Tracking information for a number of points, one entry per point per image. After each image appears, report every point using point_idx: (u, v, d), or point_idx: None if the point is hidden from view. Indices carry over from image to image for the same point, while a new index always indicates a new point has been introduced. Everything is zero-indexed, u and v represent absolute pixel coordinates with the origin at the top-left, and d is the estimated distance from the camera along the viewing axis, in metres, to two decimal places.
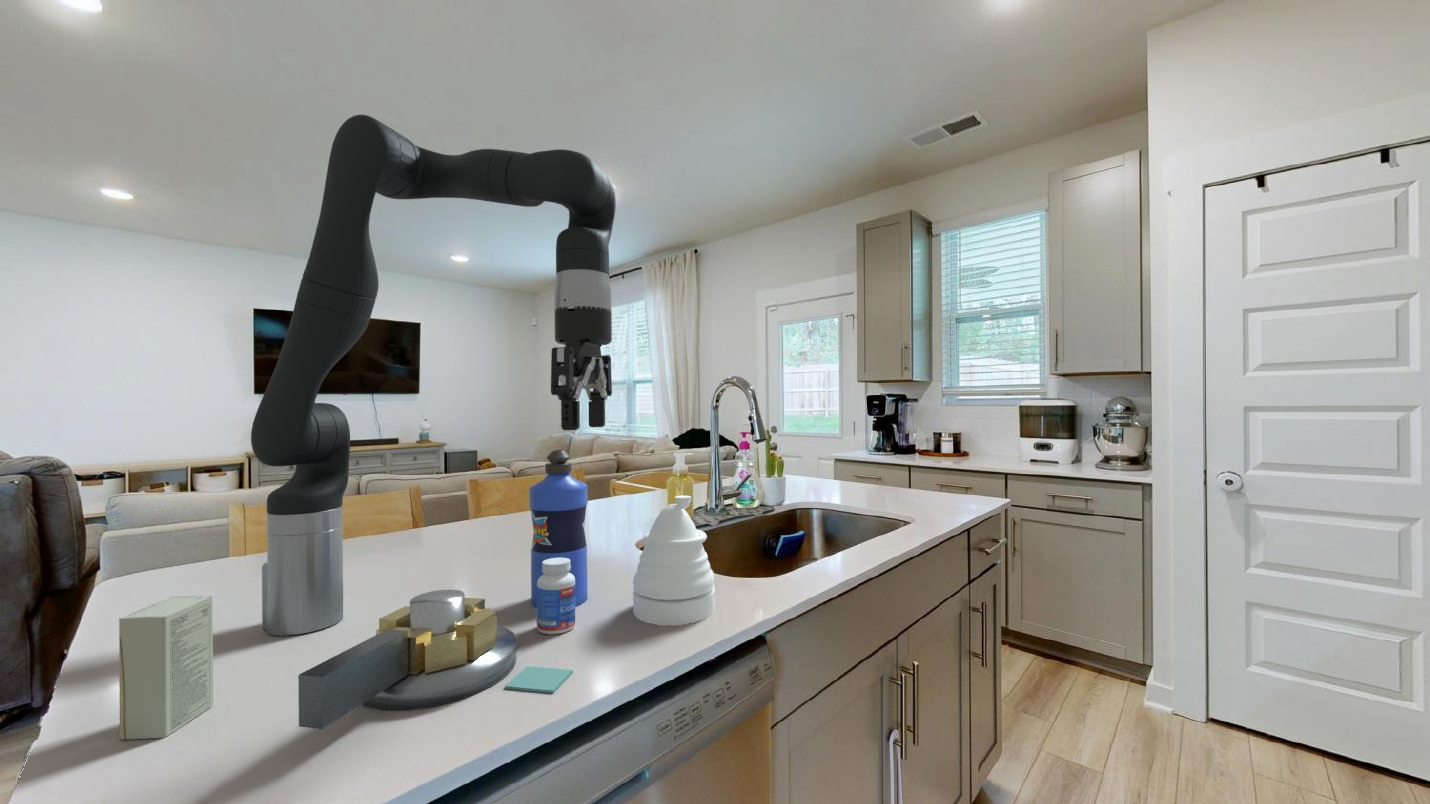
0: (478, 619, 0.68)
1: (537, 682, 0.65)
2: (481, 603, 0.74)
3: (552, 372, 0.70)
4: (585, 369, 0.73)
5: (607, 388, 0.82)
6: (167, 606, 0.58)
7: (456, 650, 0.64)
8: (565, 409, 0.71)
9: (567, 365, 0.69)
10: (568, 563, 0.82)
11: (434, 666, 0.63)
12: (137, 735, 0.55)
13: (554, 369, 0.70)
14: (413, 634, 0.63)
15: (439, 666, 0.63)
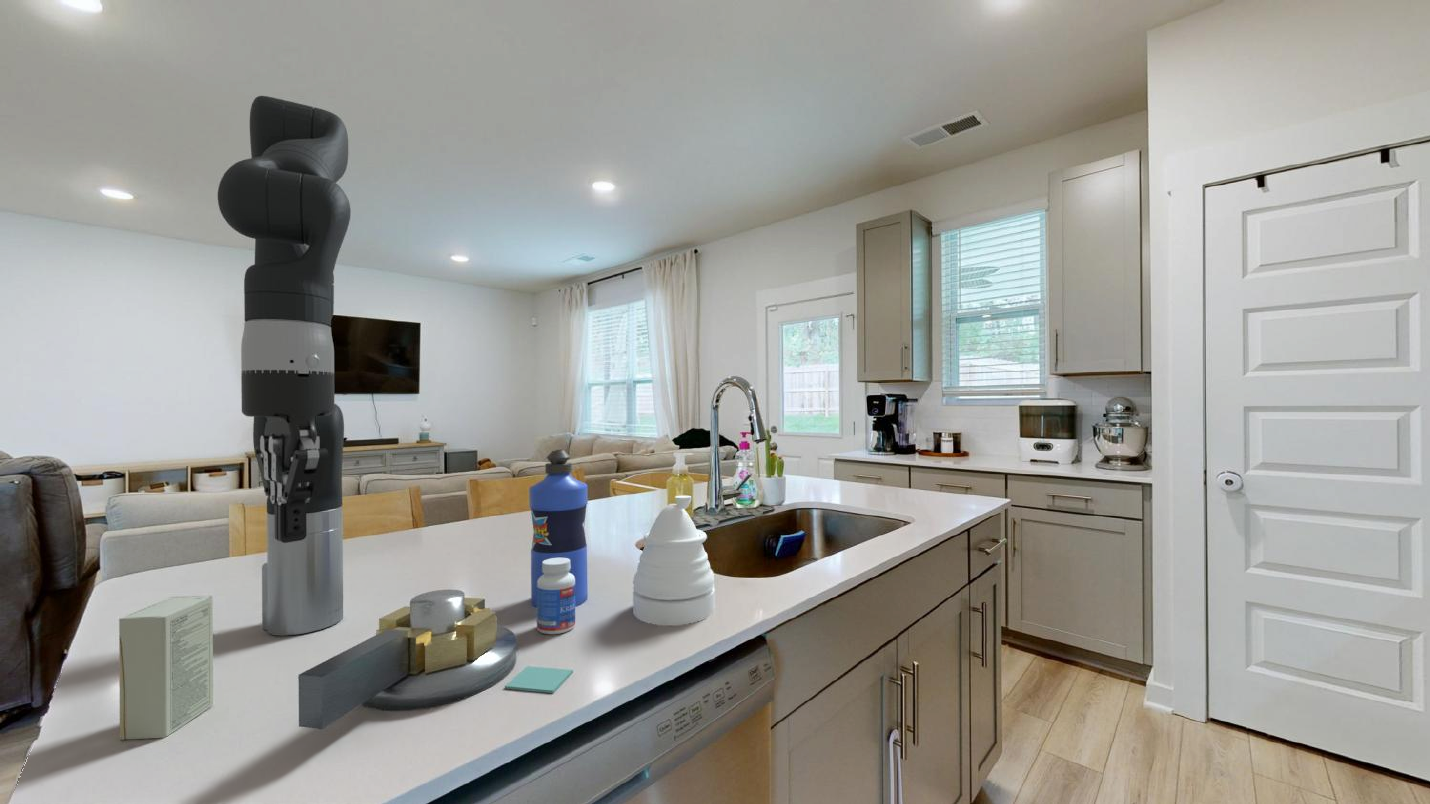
0: (478, 619, 0.68)
1: (537, 682, 0.65)
2: (481, 603, 0.74)
3: (294, 481, 0.54)
4: None
5: None
6: (167, 606, 0.58)
7: (456, 650, 0.64)
8: (293, 516, 0.56)
9: (320, 472, 0.55)
10: (568, 563, 0.82)
11: (434, 666, 0.63)
12: (137, 735, 0.55)
13: (298, 478, 0.54)
14: (413, 634, 0.63)
15: (439, 666, 0.63)
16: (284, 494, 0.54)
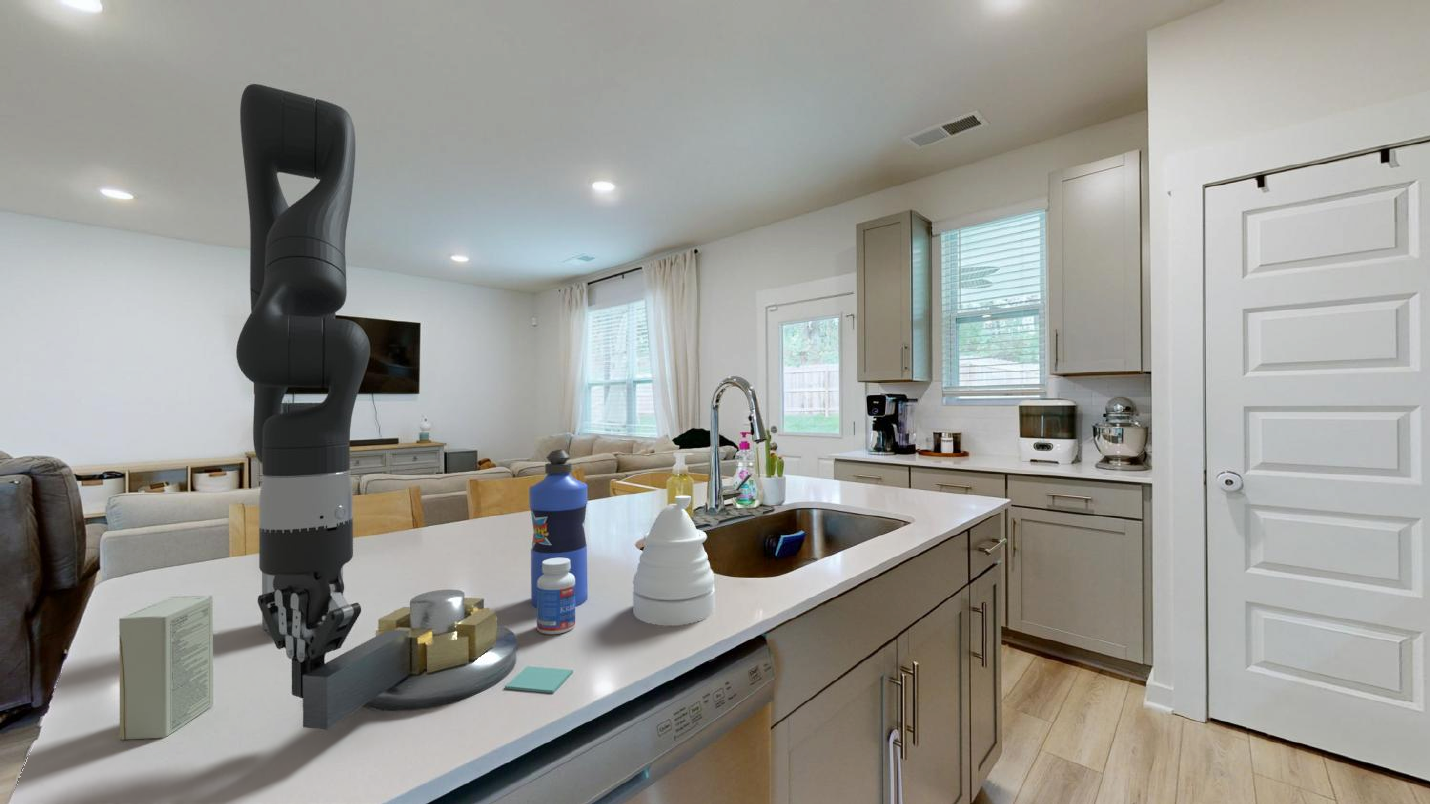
0: (479, 618, 0.68)
1: (537, 682, 0.65)
2: (480, 603, 0.74)
3: (326, 640, 0.53)
4: None
5: None
6: (167, 606, 0.58)
7: (458, 649, 0.65)
8: None
9: (350, 627, 0.55)
10: (568, 563, 0.82)
11: (436, 666, 0.63)
12: (137, 735, 0.55)
13: (330, 637, 0.53)
14: (415, 634, 0.63)
15: (441, 665, 0.64)
16: (311, 652, 0.54)
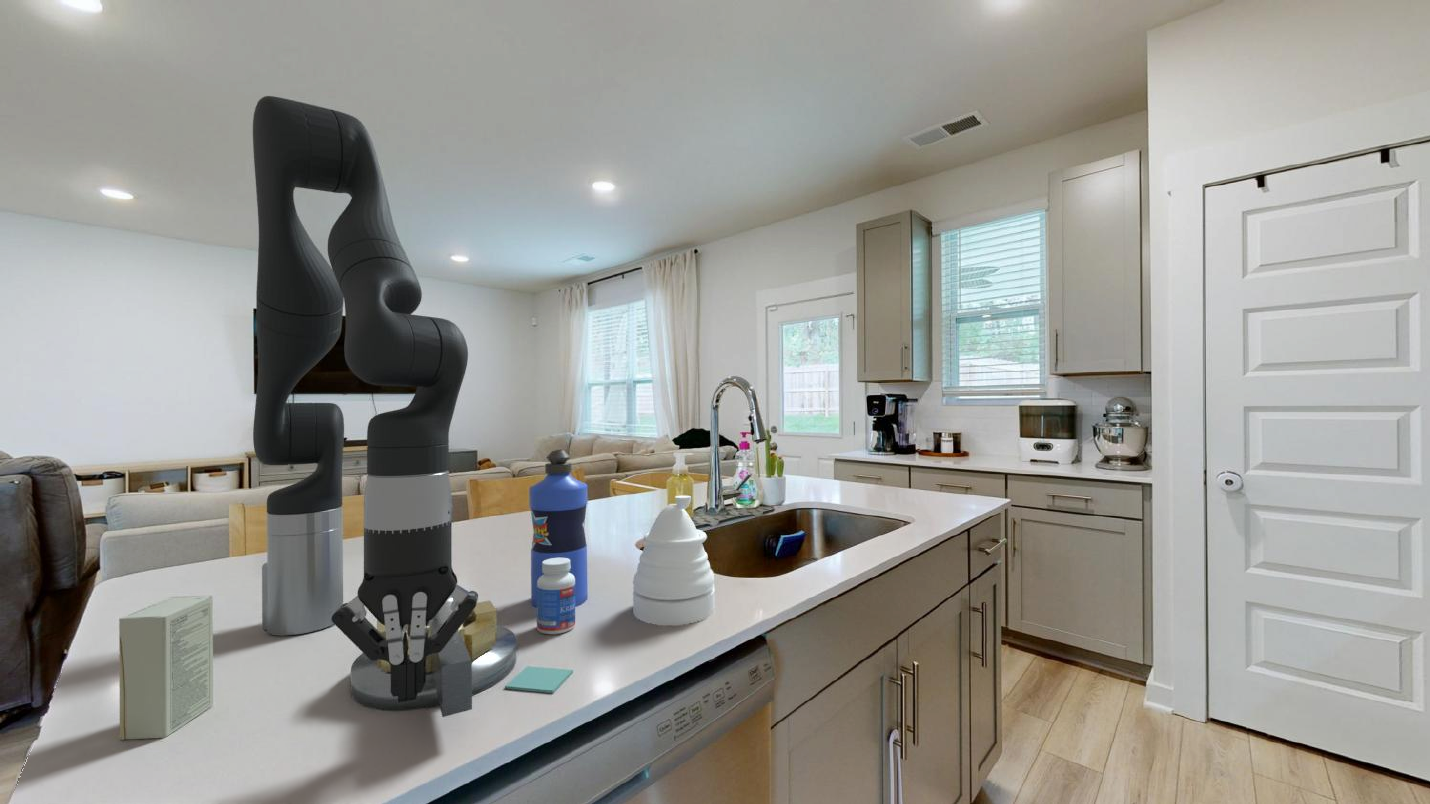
0: (487, 606, 0.72)
1: (537, 682, 0.65)
2: None
3: None
4: None
5: None
6: (167, 606, 0.58)
7: (489, 635, 0.69)
8: (424, 668, 0.55)
9: None
10: (568, 563, 0.82)
11: (477, 653, 0.67)
12: (137, 735, 0.55)
13: None
14: None
15: (480, 651, 0.67)
16: (437, 646, 0.55)
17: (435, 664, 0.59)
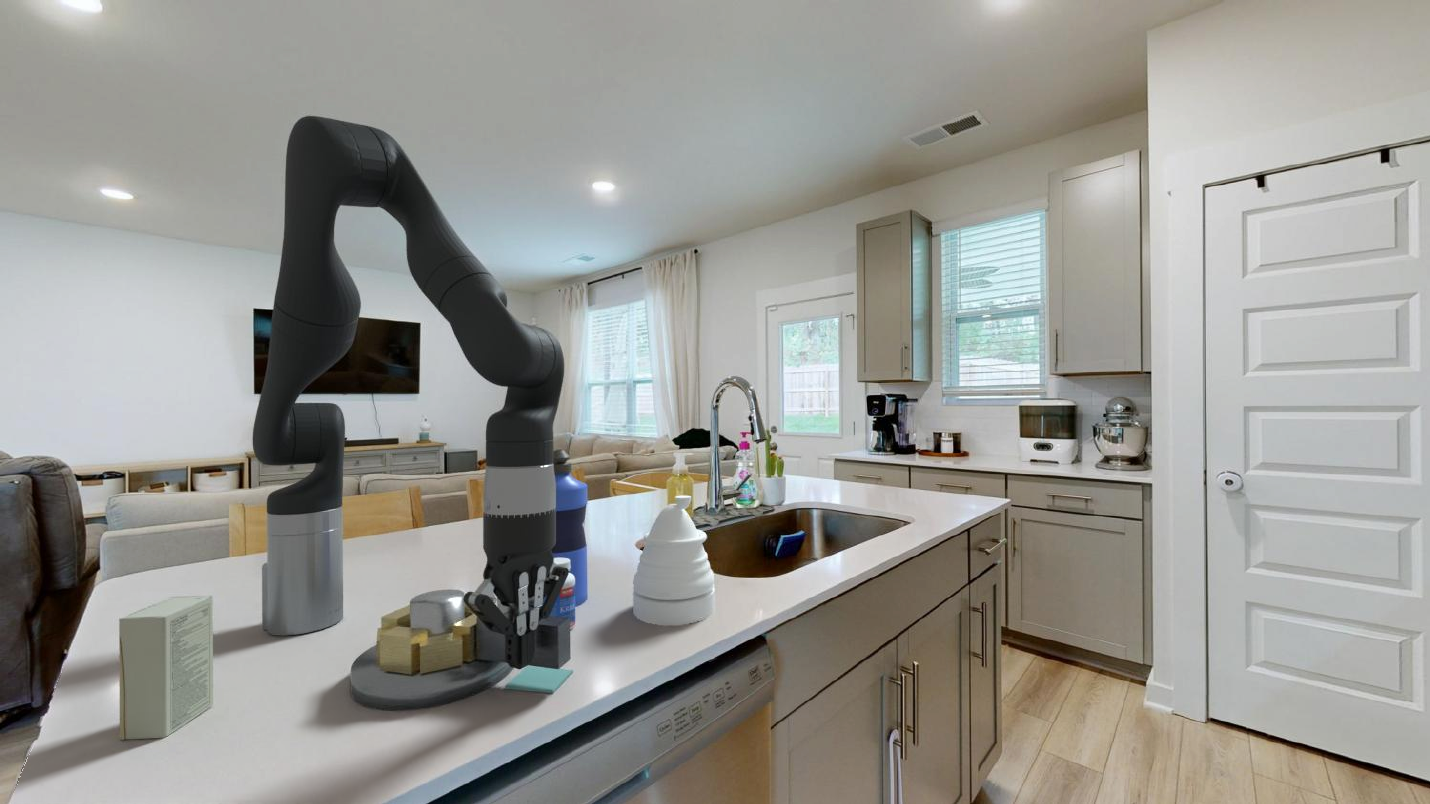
0: None
1: (537, 682, 0.65)
2: None
3: None
4: None
5: None
6: (167, 606, 0.58)
7: None
8: None
9: None
10: (568, 563, 0.82)
11: None
12: (137, 735, 0.55)
13: None
14: None
15: None
16: (547, 613, 0.63)
17: None
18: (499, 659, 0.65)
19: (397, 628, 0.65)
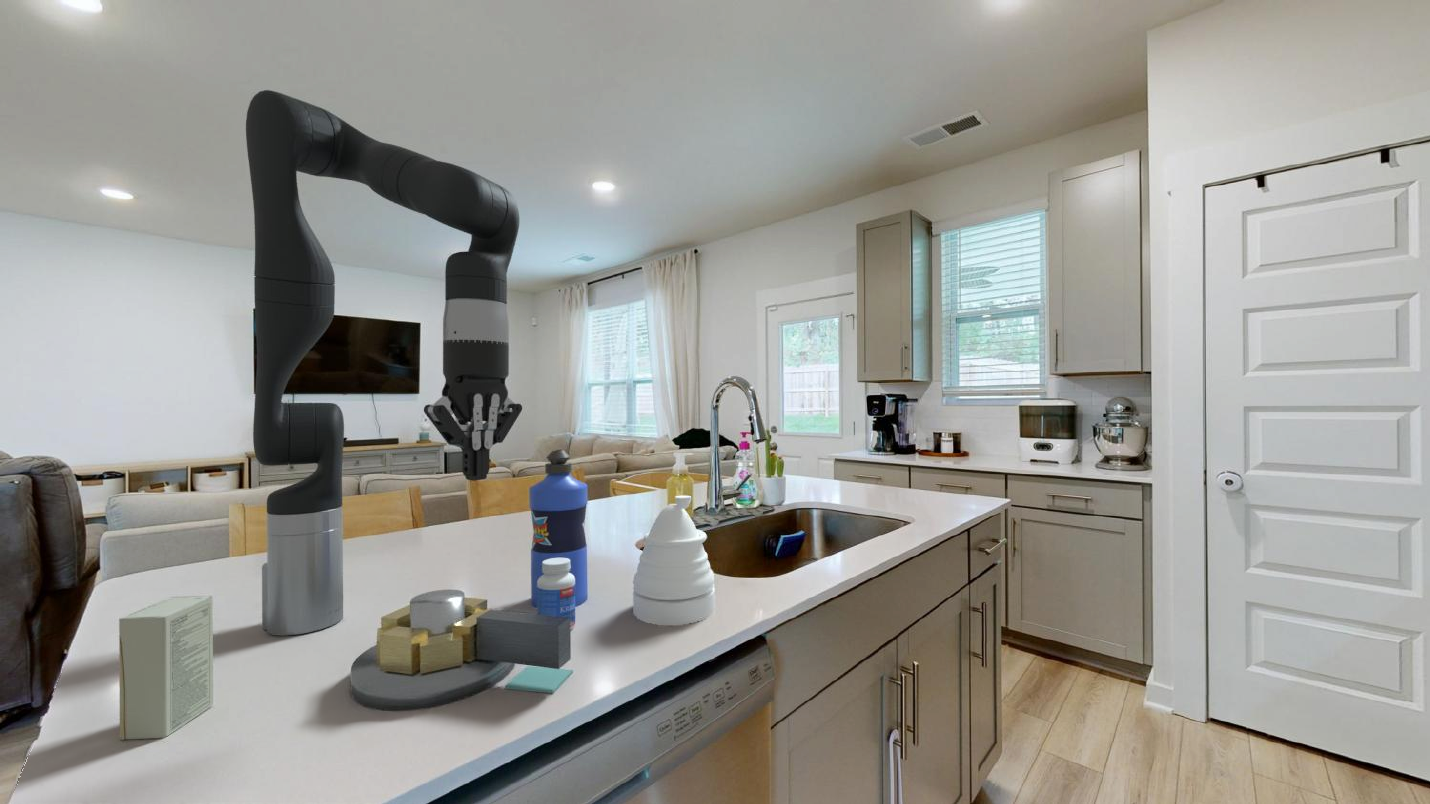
0: (471, 600, 0.75)
1: (537, 682, 0.65)
2: None
3: (510, 427, 0.73)
4: None
5: None
6: (167, 606, 0.58)
7: None
8: None
9: None
10: (568, 563, 0.82)
11: None
12: (137, 735, 0.55)
13: None
14: None
15: None
16: (501, 437, 0.72)
17: (509, 640, 0.65)
18: (499, 659, 0.65)
19: (397, 628, 0.65)
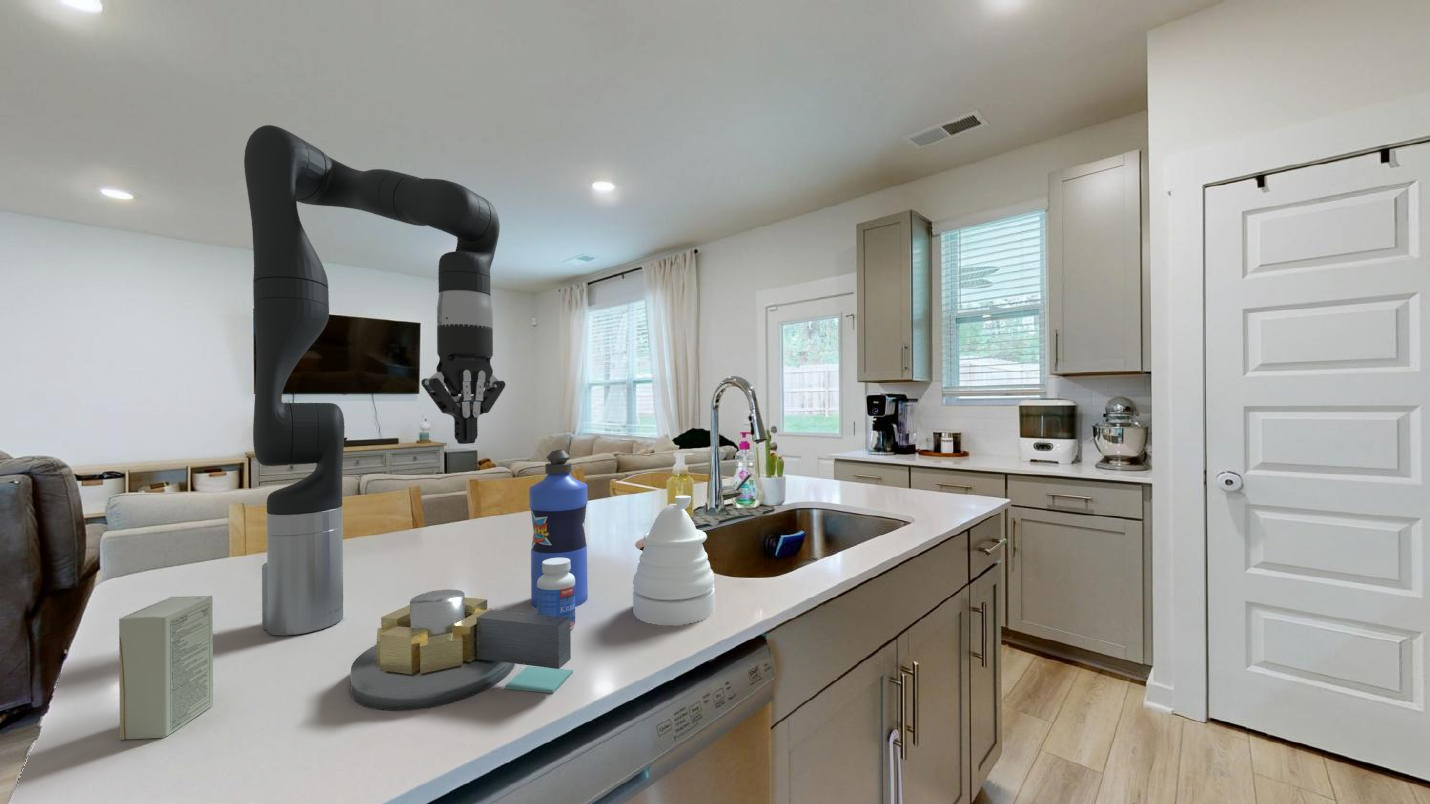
0: (471, 600, 0.75)
1: (537, 682, 0.65)
2: None
3: (495, 400, 0.86)
4: None
5: None
6: (167, 606, 0.58)
7: None
8: None
9: None
10: (568, 563, 0.82)
11: None
12: (137, 735, 0.55)
13: None
14: None
15: None
16: (487, 408, 0.85)
17: (509, 640, 0.65)
18: (499, 659, 0.65)
19: (397, 628, 0.65)
